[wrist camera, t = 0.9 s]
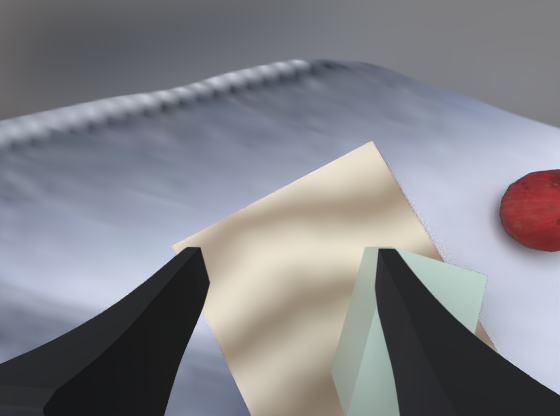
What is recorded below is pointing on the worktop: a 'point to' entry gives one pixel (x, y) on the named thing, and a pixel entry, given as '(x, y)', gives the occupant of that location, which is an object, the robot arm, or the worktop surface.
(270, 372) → the birch board
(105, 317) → the robot arm
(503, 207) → the red rounded piece
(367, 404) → the sage container
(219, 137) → the worktop surface
